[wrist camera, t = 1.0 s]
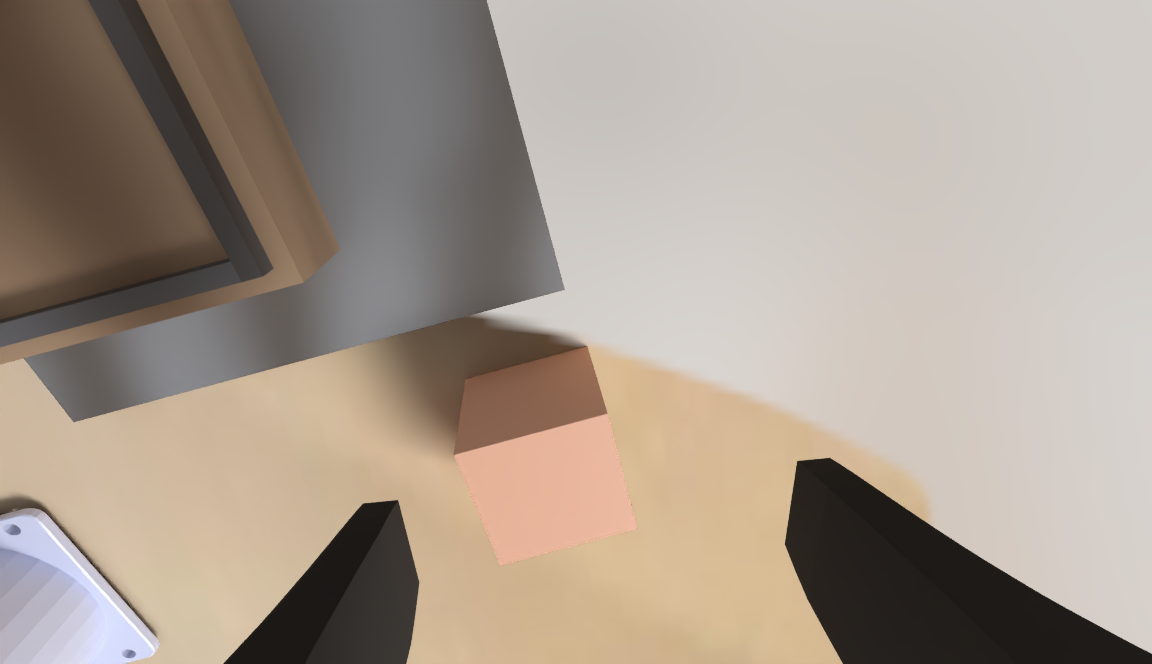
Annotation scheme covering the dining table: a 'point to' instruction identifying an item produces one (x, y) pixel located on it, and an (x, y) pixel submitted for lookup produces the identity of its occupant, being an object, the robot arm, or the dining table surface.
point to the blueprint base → (381, 192)
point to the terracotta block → (541, 457)
